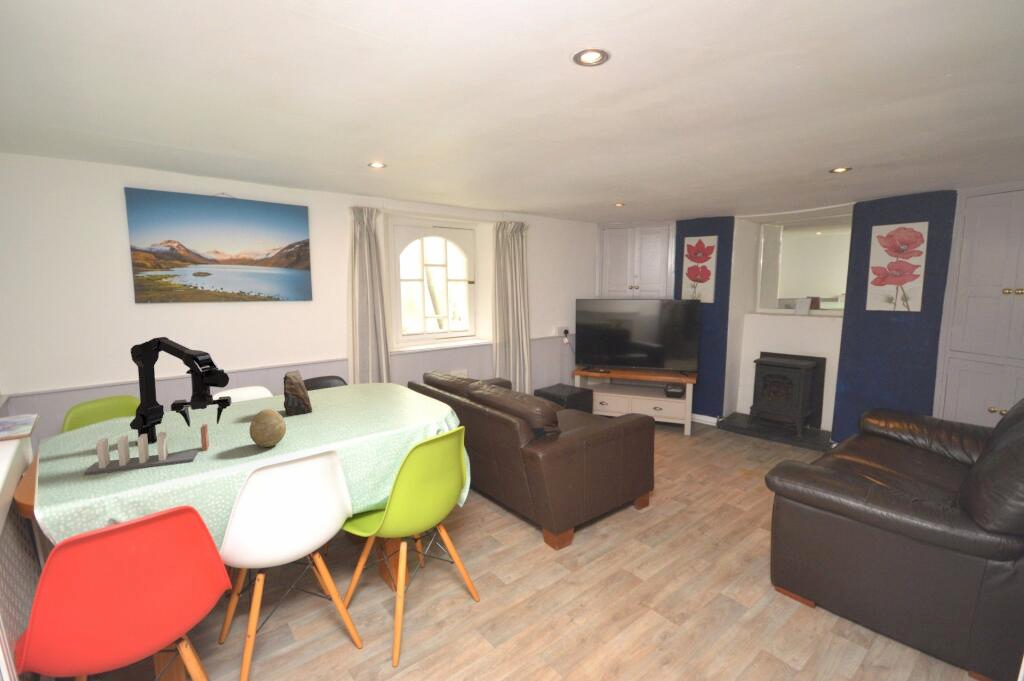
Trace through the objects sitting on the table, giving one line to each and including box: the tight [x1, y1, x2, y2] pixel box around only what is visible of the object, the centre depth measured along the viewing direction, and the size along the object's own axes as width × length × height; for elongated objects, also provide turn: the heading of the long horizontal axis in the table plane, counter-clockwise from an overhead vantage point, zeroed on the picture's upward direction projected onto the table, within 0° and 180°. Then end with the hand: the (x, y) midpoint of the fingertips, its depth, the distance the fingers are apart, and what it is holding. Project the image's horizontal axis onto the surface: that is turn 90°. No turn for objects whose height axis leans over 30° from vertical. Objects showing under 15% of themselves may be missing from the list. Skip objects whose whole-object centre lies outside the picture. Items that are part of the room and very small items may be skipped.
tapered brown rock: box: [283, 370, 313, 417], centre depth 225 cm, size 13×13×20 cm
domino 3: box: [136, 434, 150, 463], centre depth 162 cm, size 5×2×9 cm, turn 25°
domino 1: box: [95, 437, 111, 468], centre depth 157 cm, size 5×2×9 cm, turn 25°
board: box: [83, 450, 199, 476], centre depth 162 cm, size 9×30×1 cm, turn 115°
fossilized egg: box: [249, 408, 287, 448], centre depth 180 cm, size 13×13×15 cm
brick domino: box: [199, 423, 210, 452], centre depth 177 cm, size 5×2×9 cm, turn 25°
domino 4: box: [156, 431, 169, 461], centre depth 164 cm, size 5×2×9 cm, turn 25°
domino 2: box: [116, 435, 131, 466], centre depth 159 cm, size 5×2×9 cm, turn 25°
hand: (203, 425), depth 176 cm, fingers open, 9 cm apart
